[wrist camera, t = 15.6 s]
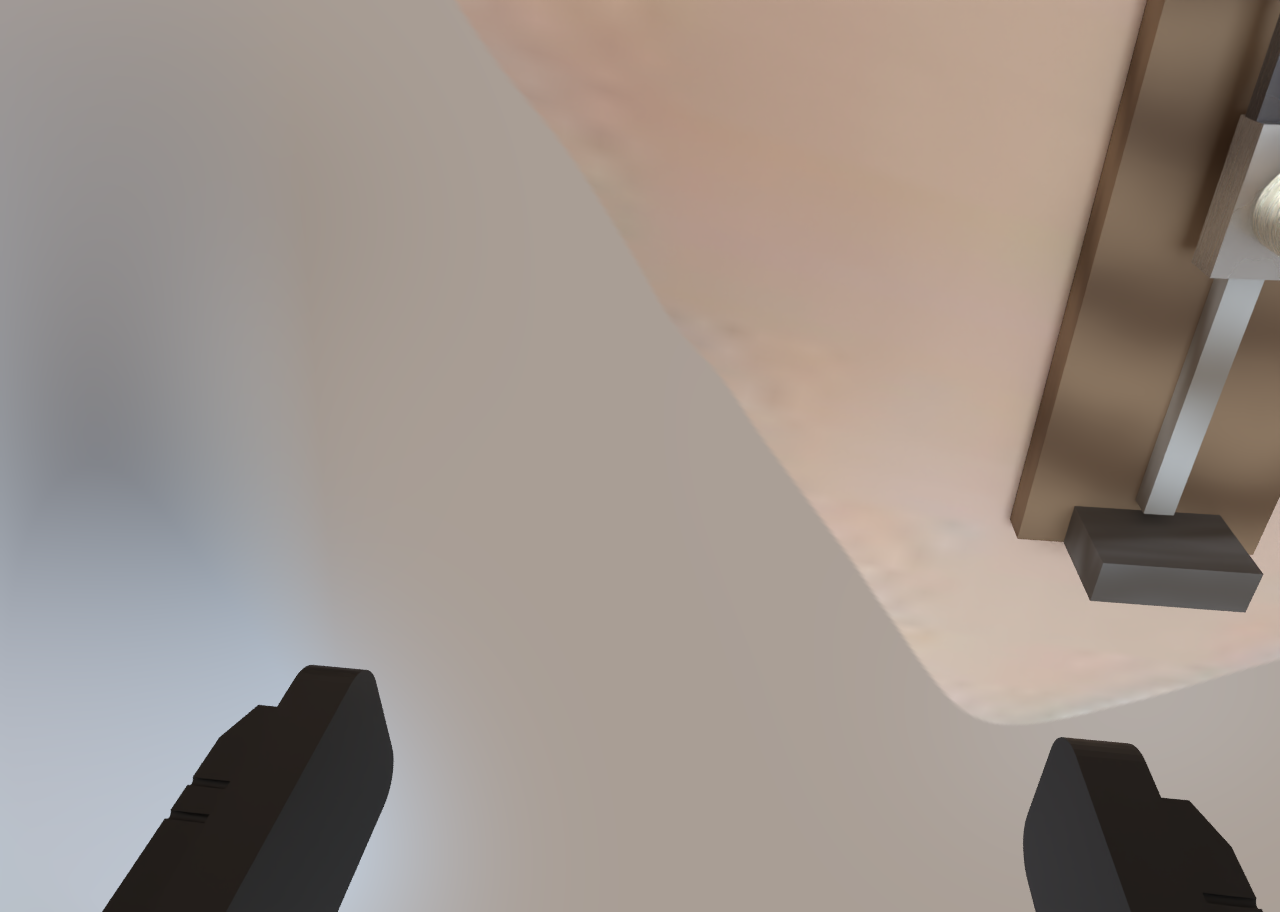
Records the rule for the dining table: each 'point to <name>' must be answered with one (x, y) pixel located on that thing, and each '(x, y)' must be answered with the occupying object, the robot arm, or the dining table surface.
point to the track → (1164, 342)
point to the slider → (1248, 189)
